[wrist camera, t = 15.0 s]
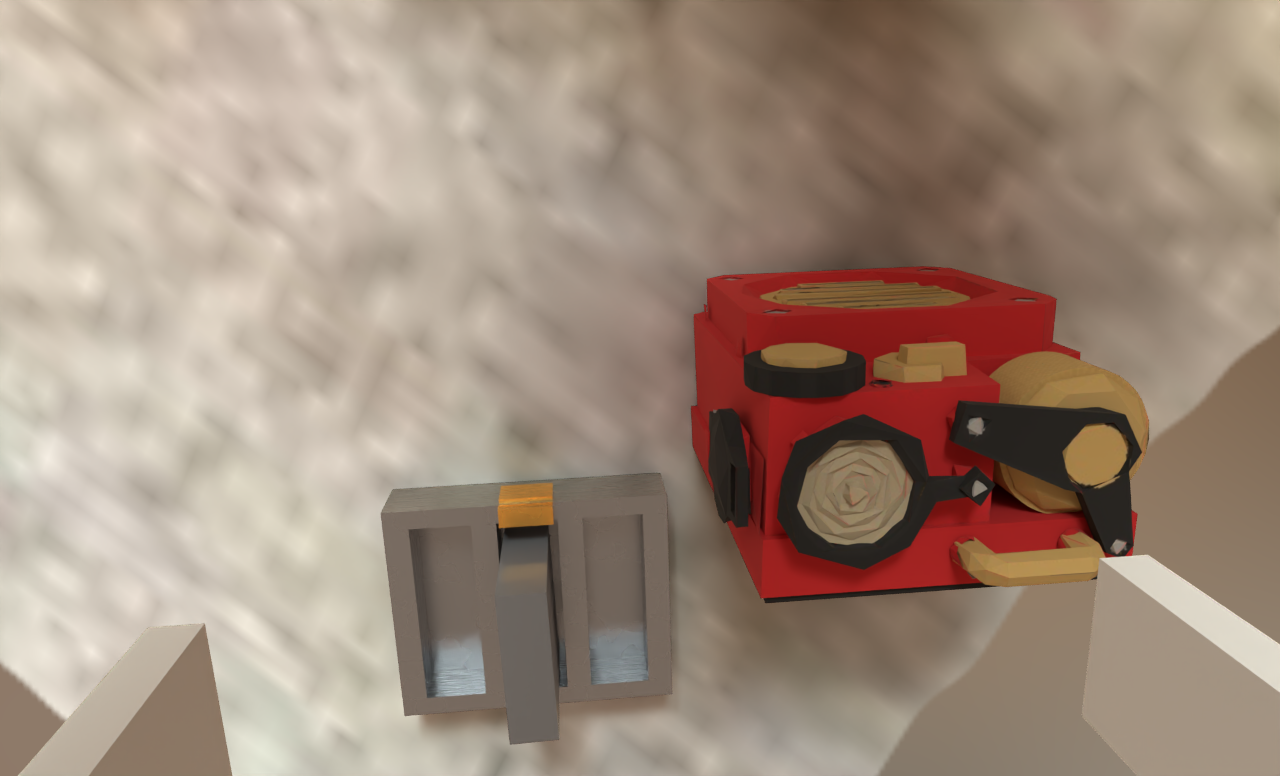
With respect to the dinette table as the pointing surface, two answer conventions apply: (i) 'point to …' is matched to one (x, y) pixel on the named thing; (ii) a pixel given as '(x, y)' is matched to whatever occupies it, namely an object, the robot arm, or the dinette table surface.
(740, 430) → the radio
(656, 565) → the rack
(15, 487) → the dinette table surface
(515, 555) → the panel
